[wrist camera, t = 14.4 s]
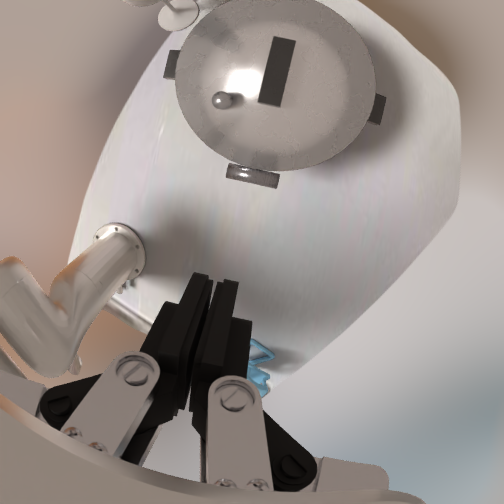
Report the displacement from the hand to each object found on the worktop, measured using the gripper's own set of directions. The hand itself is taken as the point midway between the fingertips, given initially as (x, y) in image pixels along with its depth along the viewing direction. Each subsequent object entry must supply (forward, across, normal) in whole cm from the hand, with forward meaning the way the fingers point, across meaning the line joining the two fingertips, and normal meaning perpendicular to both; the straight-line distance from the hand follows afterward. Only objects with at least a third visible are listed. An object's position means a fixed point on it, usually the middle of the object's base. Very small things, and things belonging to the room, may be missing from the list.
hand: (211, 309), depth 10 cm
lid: (+25, 0, -12) cm, 28 cm away
